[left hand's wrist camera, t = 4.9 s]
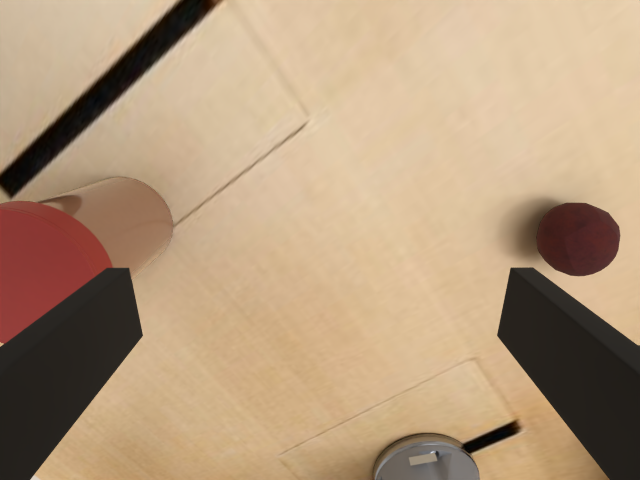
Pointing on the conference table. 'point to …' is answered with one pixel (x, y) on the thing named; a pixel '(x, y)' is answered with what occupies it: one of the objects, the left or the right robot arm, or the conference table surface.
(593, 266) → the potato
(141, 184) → the jar
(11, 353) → the left robot arm
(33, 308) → the lid
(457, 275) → the conference table surface
